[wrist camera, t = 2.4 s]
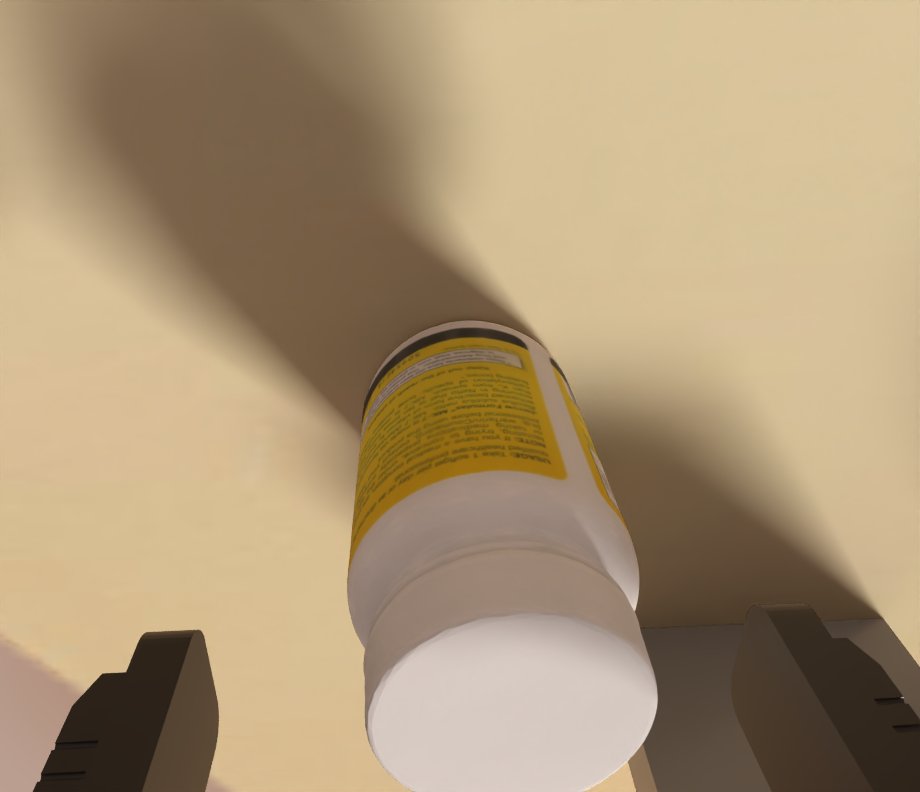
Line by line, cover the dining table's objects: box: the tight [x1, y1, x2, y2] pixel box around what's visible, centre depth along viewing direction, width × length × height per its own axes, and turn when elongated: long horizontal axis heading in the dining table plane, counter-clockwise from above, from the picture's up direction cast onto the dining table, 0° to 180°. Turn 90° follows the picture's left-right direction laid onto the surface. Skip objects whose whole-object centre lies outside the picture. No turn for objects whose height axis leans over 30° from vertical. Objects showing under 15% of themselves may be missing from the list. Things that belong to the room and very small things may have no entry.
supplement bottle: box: [347, 320, 658, 792], centre depth 14 cm, size 5×5×8 cm
